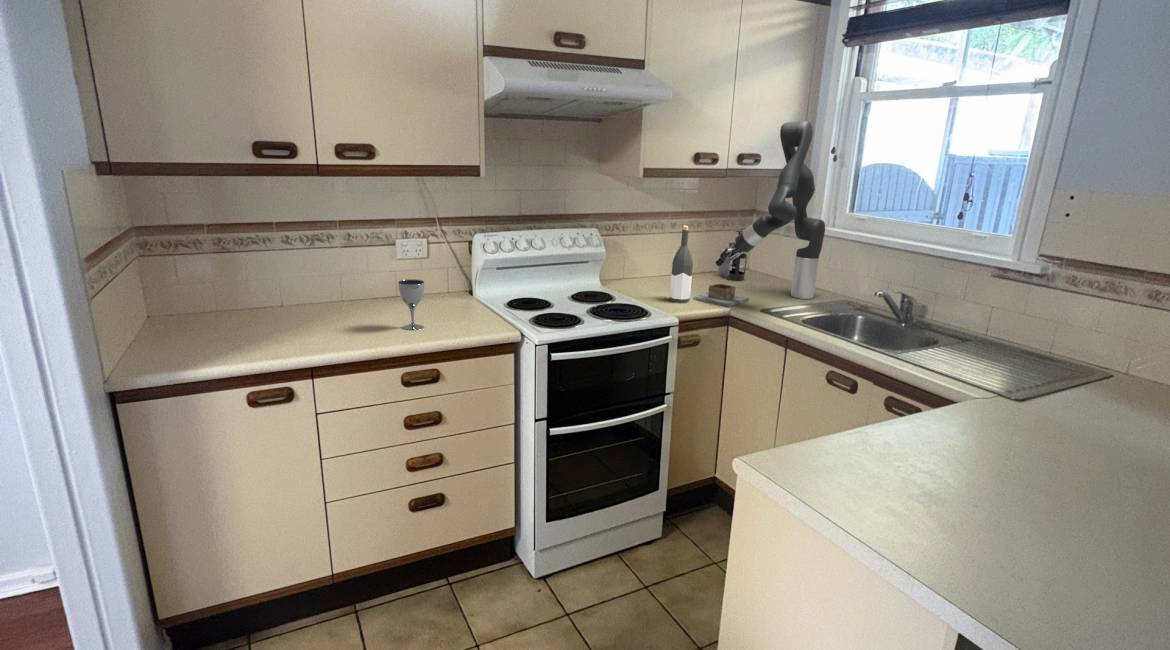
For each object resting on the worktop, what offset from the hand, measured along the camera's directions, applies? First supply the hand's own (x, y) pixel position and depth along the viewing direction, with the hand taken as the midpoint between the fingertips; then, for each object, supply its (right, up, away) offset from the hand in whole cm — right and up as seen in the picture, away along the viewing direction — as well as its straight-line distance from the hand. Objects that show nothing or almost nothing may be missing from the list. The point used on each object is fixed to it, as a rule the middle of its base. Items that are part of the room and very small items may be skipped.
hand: (720, 263), depth 255 cm
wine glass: (-111, -26, -50) cm, 124 cm away
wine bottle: (-17, -15, -1) cm, 23 cm away
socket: (+1, -15, +3) cm, 15 cm away
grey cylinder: (+1, -4, 0) cm, 5 cm away
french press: (+16, -3, +46) cm, 49 cm away
